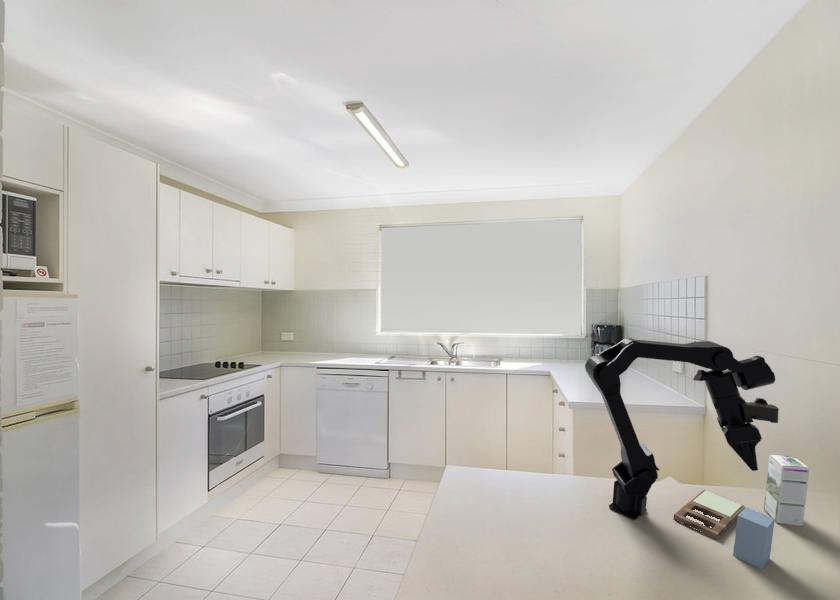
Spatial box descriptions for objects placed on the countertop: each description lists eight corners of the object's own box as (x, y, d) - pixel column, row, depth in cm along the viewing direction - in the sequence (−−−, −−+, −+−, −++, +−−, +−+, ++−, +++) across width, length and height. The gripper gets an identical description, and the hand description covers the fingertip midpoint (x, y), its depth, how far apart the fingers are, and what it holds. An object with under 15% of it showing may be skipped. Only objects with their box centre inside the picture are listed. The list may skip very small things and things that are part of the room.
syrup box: (804, 526, 103) (812, 467, 101) (775, 523, 104) (782, 464, 103) (789, 512, 109) (796, 456, 107) (761, 509, 110) (768, 453, 108)
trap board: (673, 519, 105) (674, 513, 105) (703, 494, 116) (704, 489, 116) (716, 539, 98) (717, 533, 98) (744, 510, 109) (745, 505, 109)
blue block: (733, 555, 93) (737, 515, 92) (741, 545, 96) (745, 506, 95) (762, 569, 89) (767, 527, 88) (769, 558, 92) (774, 518, 91)
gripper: (775, 394, 91) (806, 472, 88) (759, 382, 107) (785, 447, 104) (713, 405, 96) (741, 479, 93) (706, 392, 112) (730, 455, 109)
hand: (751, 464), depth 100 cm, fingers open, 9 cm apart
